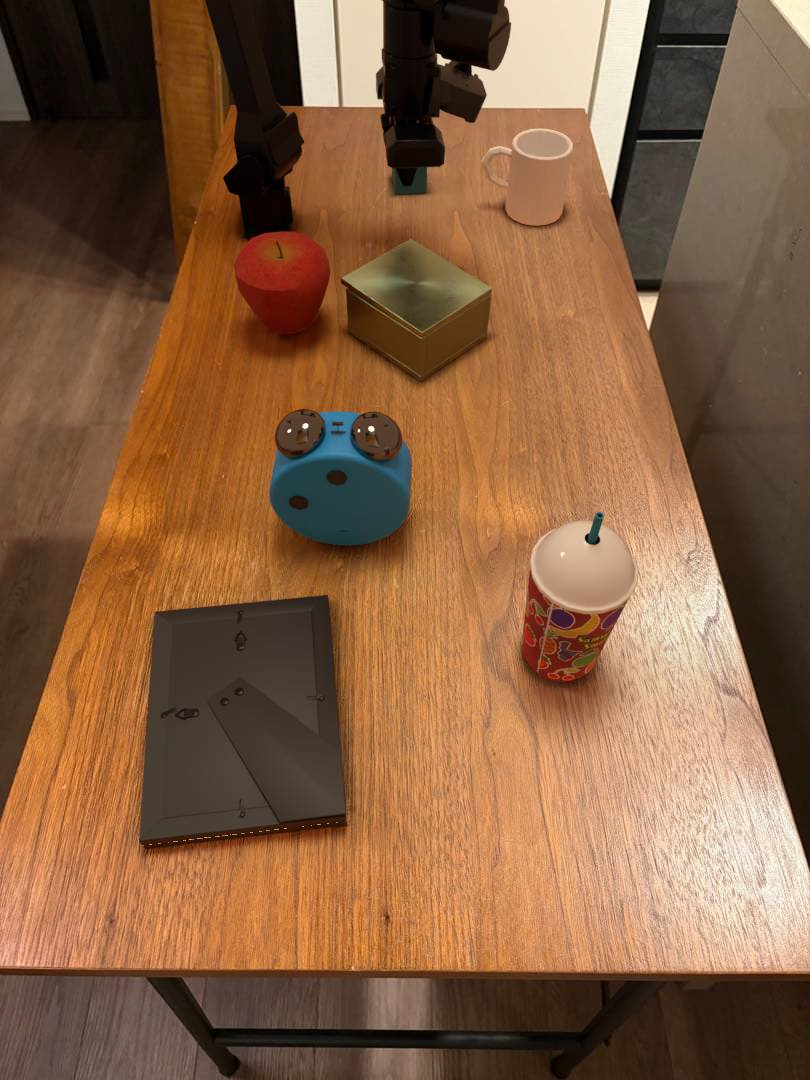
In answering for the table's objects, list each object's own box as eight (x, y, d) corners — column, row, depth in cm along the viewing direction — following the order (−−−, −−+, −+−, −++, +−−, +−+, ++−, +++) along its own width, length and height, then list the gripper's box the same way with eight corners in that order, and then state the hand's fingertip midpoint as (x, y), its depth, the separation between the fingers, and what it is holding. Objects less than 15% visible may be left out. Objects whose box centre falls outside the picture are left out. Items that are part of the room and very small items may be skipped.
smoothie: (579, 713, 73) (631, 581, 57) (494, 667, 76) (521, 529, 60) (618, 642, 77) (675, 501, 62) (536, 601, 80) (571, 456, 64)
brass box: (348, 332, 104) (345, 288, 99) (414, 291, 109) (415, 248, 104) (420, 381, 99) (422, 338, 94) (487, 337, 104) (491, 294, 99)
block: (395, 194, 123) (395, 164, 119) (391, 178, 126) (391, 147, 122) (426, 193, 123) (427, 162, 120) (422, 176, 126) (423, 146, 123)
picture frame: (347, 825, 67) (329, 606, 80) (345, 813, 65) (327, 590, 77) (145, 849, 66) (159, 623, 78) (136, 837, 63) (152, 606, 76)
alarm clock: (411, 505, 87) (413, 397, 75) (408, 552, 83) (410, 447, 72) (284, 500, 87) (267, 391, 76) (276, 547, 84) (257, 441, 72)
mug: (478, 191, 124) (484, 124, 116) (561, 196, 123) (572, 129, 115) (476, 222, 119) (482, 154, 111) (562, 228, 118) (573, 160, 110)
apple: (278, 368, 100) (266, 281, 90) (227, 324, 105) (210, 237, 95) (351, 329, 104) (347, 242, 95) (299, 288, 109) (289, 202, 100)
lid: (340, 283, 99) (340, 277, 98) (410, 243, 104) (411, 238, 103) (421, 338, 94) (422, 332, 93) (491, 293, 99) (492, 288, 98)
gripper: (498, 86, 85) (484, 226, 98) (472, 10, 97) (462, 143, 109) (388, 89, 85) (387, 229, 97) (374, 12, 96) (376, 146, 108)
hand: (407, 184), depth 103 cm, fingers closed
